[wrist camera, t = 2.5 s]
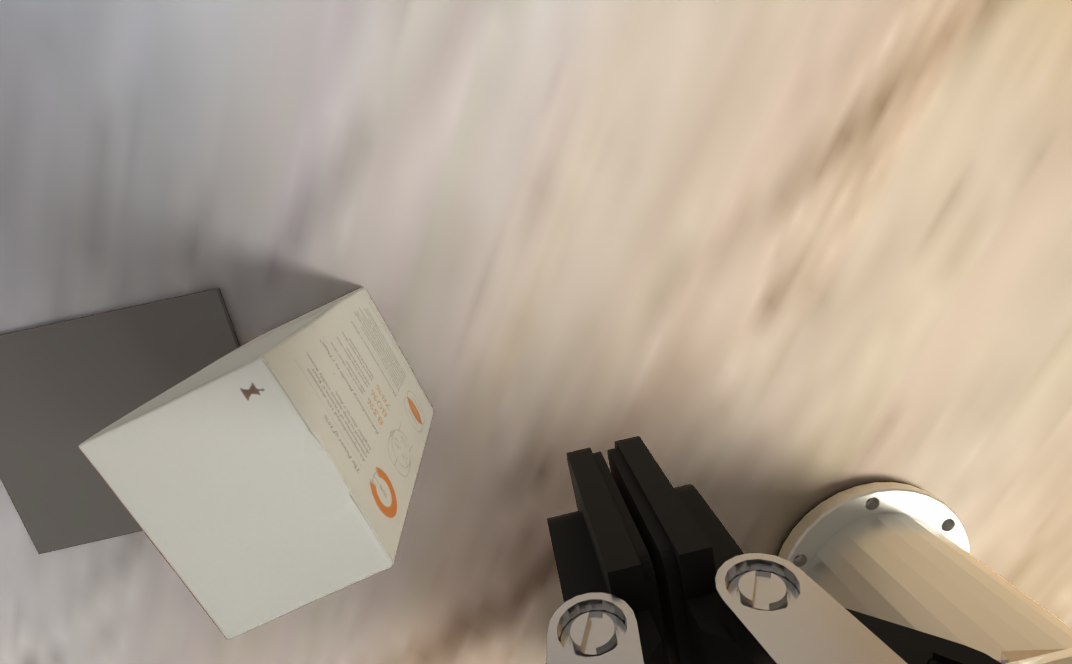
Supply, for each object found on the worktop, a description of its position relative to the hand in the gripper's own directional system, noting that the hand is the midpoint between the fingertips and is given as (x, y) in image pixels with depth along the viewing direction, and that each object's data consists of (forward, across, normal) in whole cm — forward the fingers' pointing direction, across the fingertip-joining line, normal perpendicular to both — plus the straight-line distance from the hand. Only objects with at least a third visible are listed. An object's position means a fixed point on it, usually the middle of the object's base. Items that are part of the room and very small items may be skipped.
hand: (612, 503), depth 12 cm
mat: (+18, +22, +1) cm, 29 cm away
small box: (+18, +10, +1) cm, 21 cm away
